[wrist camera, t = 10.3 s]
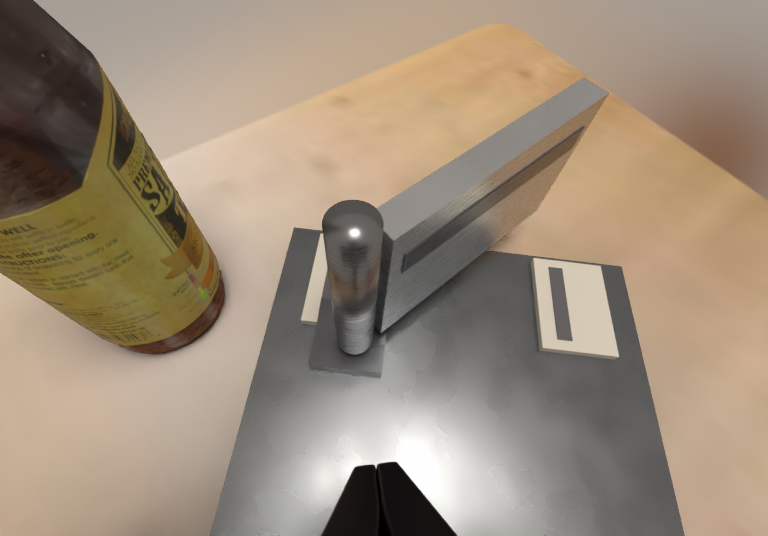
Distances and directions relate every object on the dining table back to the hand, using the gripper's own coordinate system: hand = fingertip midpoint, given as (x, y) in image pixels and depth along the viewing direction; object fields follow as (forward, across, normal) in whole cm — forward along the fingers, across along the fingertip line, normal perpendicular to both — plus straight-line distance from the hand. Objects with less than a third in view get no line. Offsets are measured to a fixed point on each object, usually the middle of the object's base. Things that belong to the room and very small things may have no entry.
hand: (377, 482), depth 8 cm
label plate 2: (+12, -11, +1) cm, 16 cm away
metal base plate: (+10, -4, +5) cm, 12 cm away
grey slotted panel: (+12, -4, -1) cm, 13 cm away
